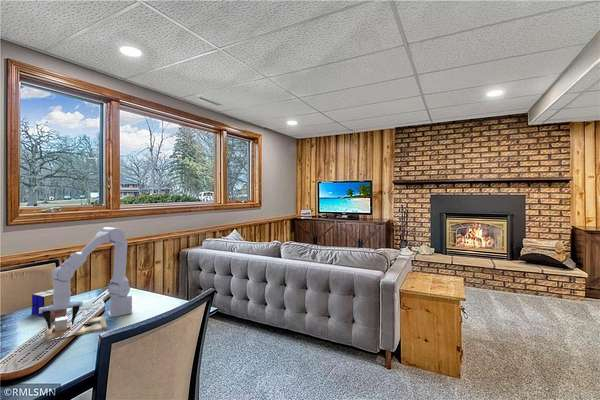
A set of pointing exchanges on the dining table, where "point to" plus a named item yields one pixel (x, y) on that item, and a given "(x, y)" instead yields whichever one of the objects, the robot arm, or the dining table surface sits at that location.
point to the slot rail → (82, 331)
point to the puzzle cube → (41, 301)
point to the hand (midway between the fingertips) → (61, 326)
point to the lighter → (57, 313)
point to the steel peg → (61, 324)
